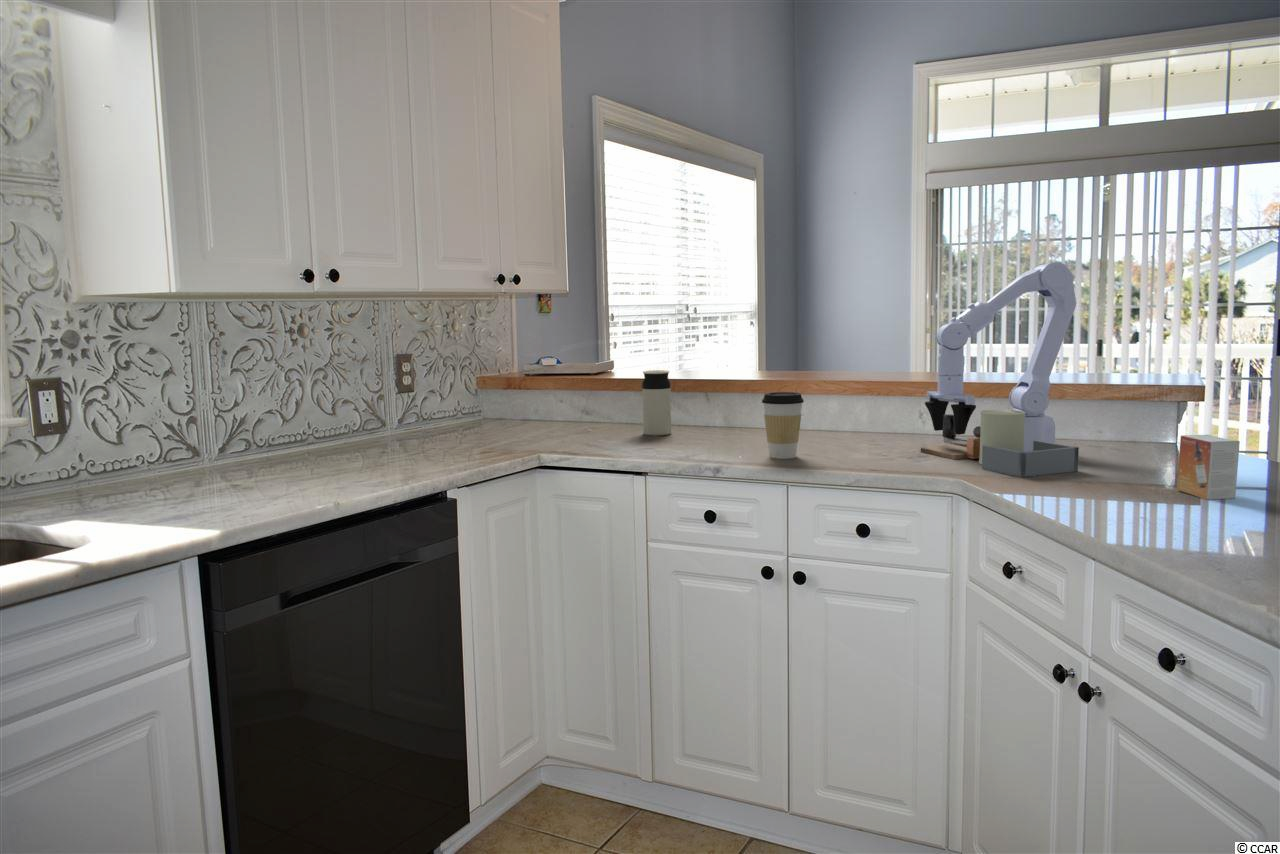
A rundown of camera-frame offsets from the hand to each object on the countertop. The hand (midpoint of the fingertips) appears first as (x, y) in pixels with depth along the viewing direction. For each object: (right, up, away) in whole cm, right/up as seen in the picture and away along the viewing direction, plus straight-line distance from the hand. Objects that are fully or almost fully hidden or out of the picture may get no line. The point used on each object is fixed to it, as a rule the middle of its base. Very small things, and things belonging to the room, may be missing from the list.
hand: (949, 432), depth 212 cm
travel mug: (-68, -1, +43) cm, 81 cm away
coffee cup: (-39, -6, +1) cm, 40 cm away
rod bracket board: (+1, -5, -1) cm, 5 cm away
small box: (+29, -11, -50) cm, 59 cm away
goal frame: (+9, -8, -23) cm, 25 cm away
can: (+6, -7, -15) cm, 18 cm away
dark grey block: (+2, -5, -4) cm, 7 cm away
